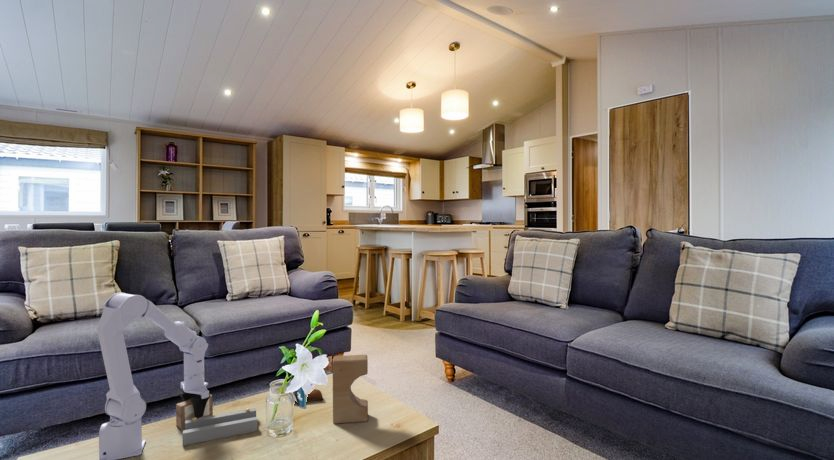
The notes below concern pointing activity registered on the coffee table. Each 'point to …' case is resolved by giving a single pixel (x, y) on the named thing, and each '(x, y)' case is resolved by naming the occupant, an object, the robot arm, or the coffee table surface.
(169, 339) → the robot arm
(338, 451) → the coffee table surface
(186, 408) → the walnut frame
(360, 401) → the decorative block
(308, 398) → the sunglasses case
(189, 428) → the picture ledge
